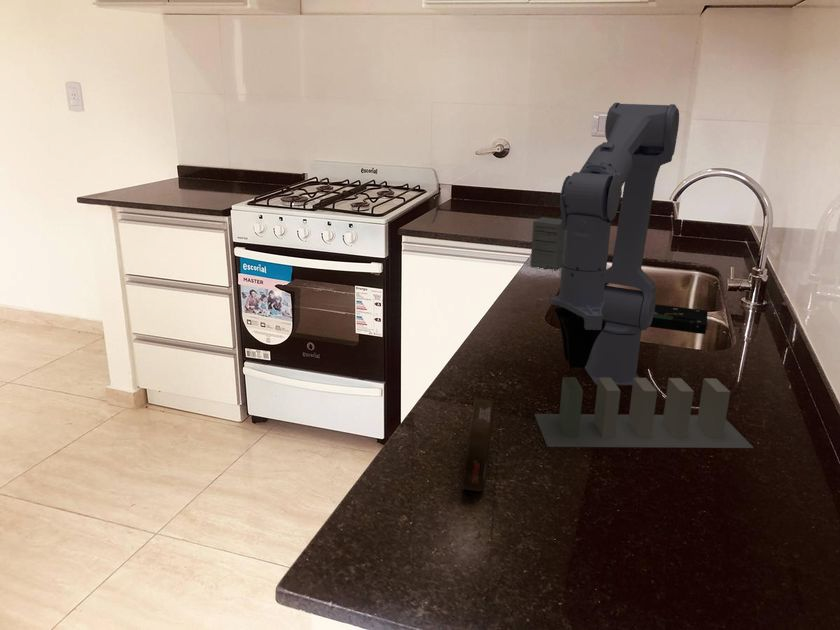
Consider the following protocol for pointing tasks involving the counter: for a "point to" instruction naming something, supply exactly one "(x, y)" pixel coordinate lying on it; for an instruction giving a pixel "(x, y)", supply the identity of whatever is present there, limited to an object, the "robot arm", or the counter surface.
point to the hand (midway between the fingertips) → (575, 363)
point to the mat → (628, 438)
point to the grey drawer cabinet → (547, 243)
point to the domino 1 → (570, 406)
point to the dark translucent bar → (478, 445)
